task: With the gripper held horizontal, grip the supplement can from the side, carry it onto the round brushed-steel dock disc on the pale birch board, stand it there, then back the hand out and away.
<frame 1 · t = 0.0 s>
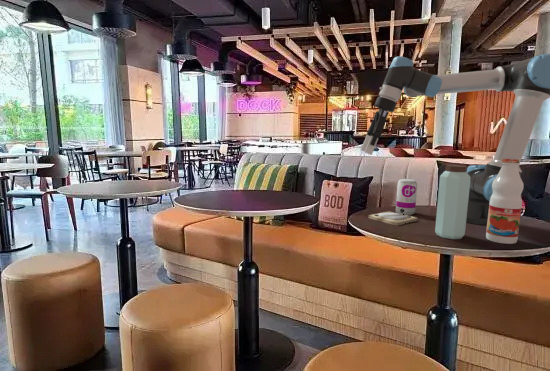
hand: (365, 152, 146), 28 cm above the table, tool tilted 20°, fingers open, 13 cm apart
fruit juice: (500, 240, 131), on the table
dock board: (392, 219, 157), on the table
water bottle: (449, 236, 135), on the table
supplement can: (405, 213, 169), on the table
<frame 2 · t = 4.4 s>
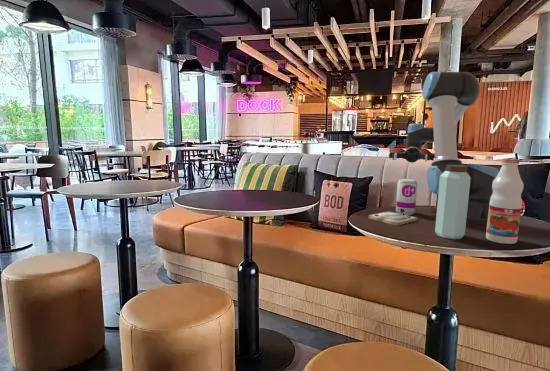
hand: (410, 157, 174), 24 cm above the table, tool horizontal, fingers open, 13 cm apart
nothing on the table moved.
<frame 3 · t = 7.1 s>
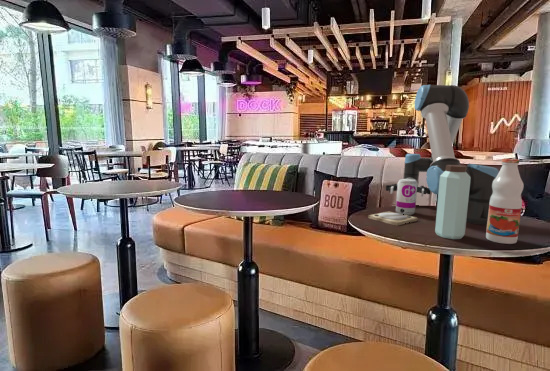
hand: (406, 192, 174), 8 cm above the table, tool horizontal, fingers open, 13 cm apart
nothing on the table moved.
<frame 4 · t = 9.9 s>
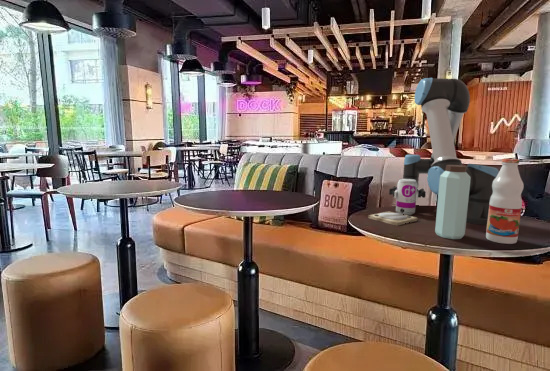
hand: (405, 195, 164), 9 cm above the table, tool horizontal, fingers closed on supplement can, 8 cm apart
supplement can: (405, 213, 169), on the table, touching gripper
everything else where it was.
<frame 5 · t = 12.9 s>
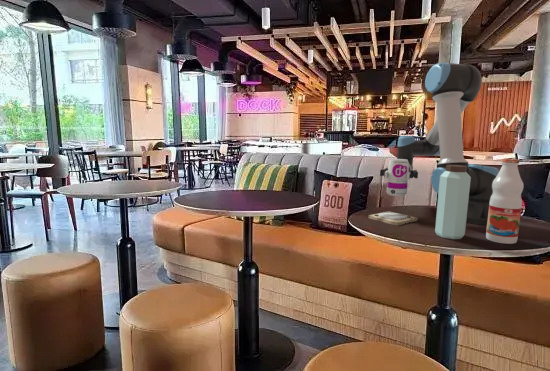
hand: (396, 176, 156), 18 cm above the table, tool horizontal, fingers closed on supplement can, 8 cm apart
supplement can: (396, 195, 161), point 9 cm above the table, touching gripper
everything else where it was.
when the fingers open (12 cm above the table, at t = 15.9 s): supplement can drops 1 cm, resting on dock board.
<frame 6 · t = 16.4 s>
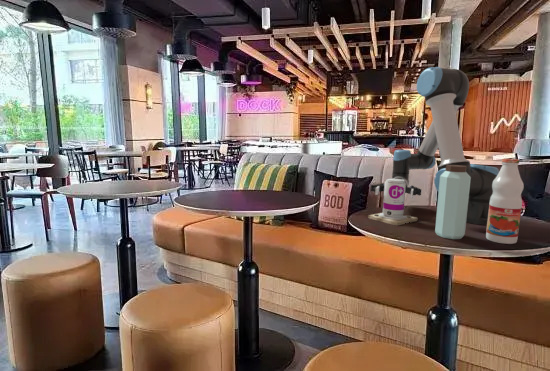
hand: (393, 193, 152), 12 cm above the table, tool horizontal, fingers open, 13 cm apart
supplement can: (392, 216, 157), point 1 cm above the table, touching dock board
everything else where it was.
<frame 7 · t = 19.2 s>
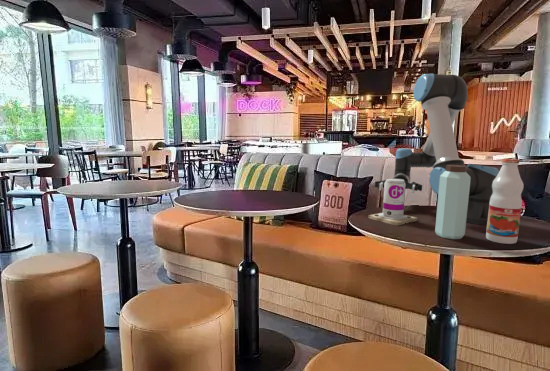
hand: (396, 188, 163), 12 cm above the table, tool horizontal, fingers open, 13 cm apart
nothing on the table moved.
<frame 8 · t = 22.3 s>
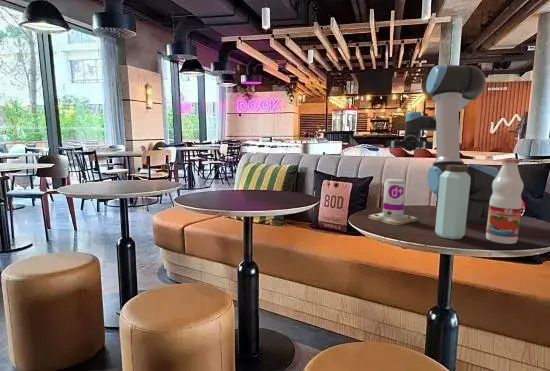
hand: (407, 144, 169), 30 cm above the table, tool horizontal, fingers open, 13 cm apart
nothing on the table moved.
at the end: supplement can 0.1 cm off-centre on the dock board, point 1.4 cm above the dock board's base; supplement can tilted 0°; the gripper is holding nothing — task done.
